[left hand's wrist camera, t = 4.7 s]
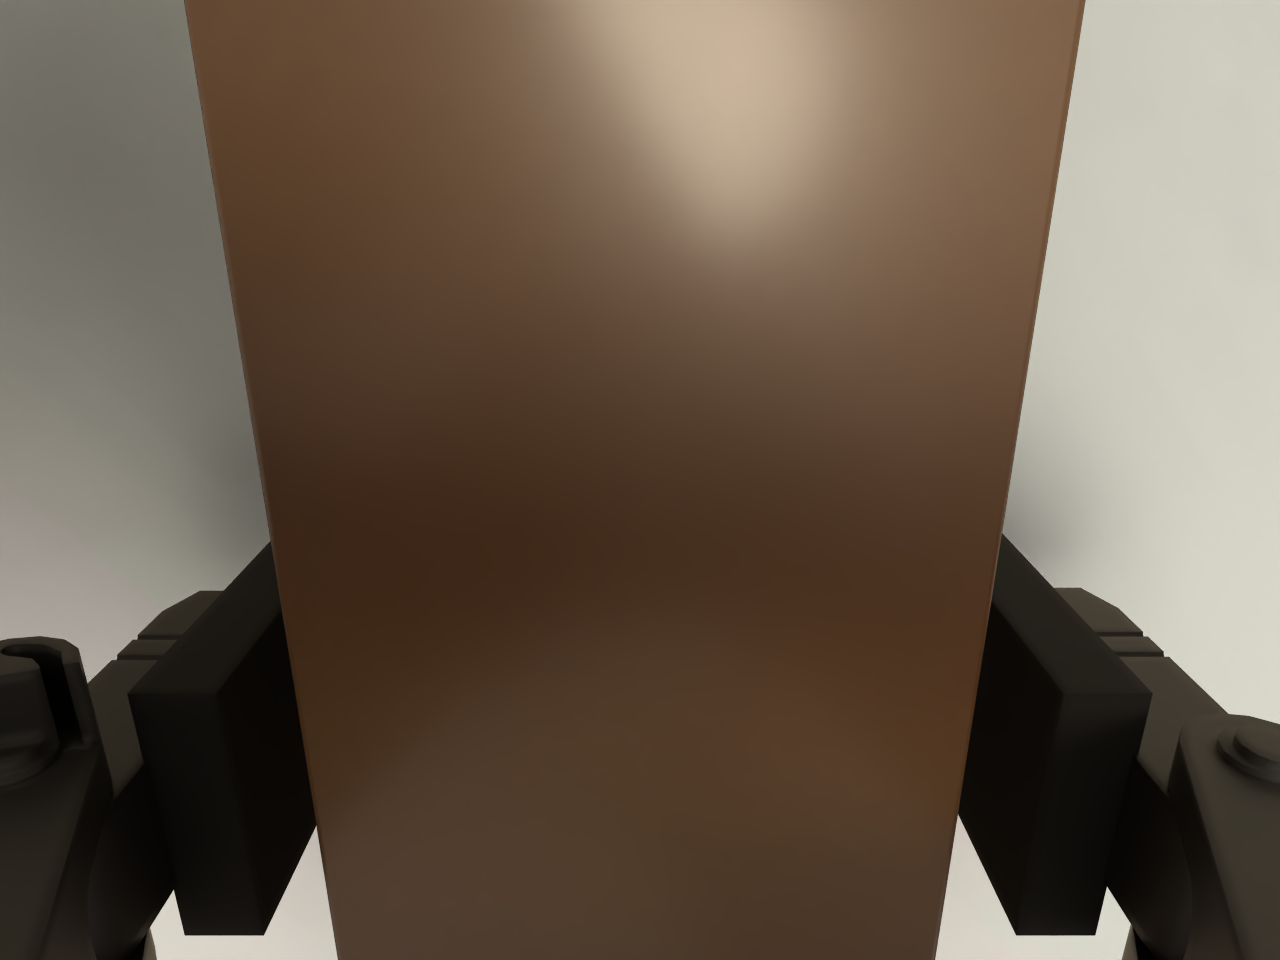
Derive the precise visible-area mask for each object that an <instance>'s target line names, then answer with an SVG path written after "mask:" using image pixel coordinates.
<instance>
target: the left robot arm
mask: <svg viewBox="0 0 1280 960" xmlns="http://www.w3.org/2000/svg"><path fill="white" fill-rule="evenodd" d="M1163 653H1164V652H1163V651H1162V650H1161V649H1160V648H1159V647H1158V646H1157V645H1156V644H1155V643H1154V642H1153V641H1152V640H1151V639H1150V638H1149V637H1143V631H1141V630H1140V629H1139V628H1138V627H1137V626H1136V625H1135V624H1134V623H1133V622H1132V621H1131V620H1130V619H1129V618H1128V617H1127V616H1126V615H1125V614H1124V613H1123V612H1122V611H1121V610H1120V609H1119V608H1117V607H1115V606H1113V605H1111V604H1110V603H1108V602H1106V601H1104V600H1102V599H1100V598H1098V597H1096V596H1095V595H1093V594H1091V593H1089V592H1087V591H1085V590H1083V589H1082V588H1053V587H1052V586H1051V585H1050V584H1049V583H1048V582H1047V580H1046V579H1045V578H1044V577H1043V576H1042V575H1041V574H1040V573H1039V572H1038V571H1037V570H1036V569H1035V568H1034V567H1033V566H1032V565H1031V563H1030V562H1029V561H1028V560H1027V559H1026V558H1025V557H1024V556H1023V555H1022V554H1021V553H1020V552H1019V551H1018V550H1017V549H1016V548H1015V547H1014V545H1013V544H1012V543H1011V542H1010V541H1009V540H1008V539H1007V538H1006V537H1005V536H1004V535H1003V534H1002V536H1001V542H1000V548H999V555H998V561H997V567H996V574H995V580H994V587H993V593H992V599H991V606H990V612H989V619H988V625H987V631H986V638H985V644H984V650H983V657H982V663H981V670H980V676H979V682H978V689H977V695H976V701H975V708H974V714H973V721H972V727H971V733H970V740H969V746H968V752H967V759H966V765H965V772H964V778H963V784H962V791H961V797H960V803H959V810H958V815H959V817H960V819H961V821H962V823H963V825H964V827H965V829H966V831H967V834H968V836H969V838H970V840H971V842H972V844H973V846H974V848H975V850H976V852H977V854H978V856H979V859H980V861H981V863H982V865H983V867H984V869H985V871H986V873H987V875H988V877H989V879H990V882H991V884H992V886H993V888H994V890H995V892H996V894H997V896H998V898H999V900H1000V902H1001V905H1002V907H1003V909H1004V911H1005V913H1006V915H1007V917H1008V919H1009V921H1010V923H1011V925H1012V928H1013V930H1014V932H1015V934H1016V935H1095V934H1096V930H1097V926H1098V921H1099V917H1100V913H1101V909H1102V905H1103V900H1104V896H1105V892H1106V888H1107V887H1108V888H1109V890H1110V891H1111V893H1112V895H1113V896H1114V898H1115V899H1116V901H1117V903H1118V904H1119V906H1120V907H1121V909H1122V910H1123V912H1124V914H1125V915H1126V917H1127V918H1128V920H1129V921H1130V923H1131V926H1130V930H1129V934H1128V938H1127V941H1126V945H1125V949H1124V953H1123V957H1122V960H1280V724H1277V723H1273V722H1269V721H1266V720H1262V719H1258V718H1255V717H1251V716H1243V715H1233V714H1228V713H1227V712H1226V711H1225V710H1224V709H1223V708H1222V707H1221V706H1220V705H1219V704H1218V703H1216V702H1215V701H1214V700H1213V699H1212V698H1211V697H1210V696H1209V695H1208V694H1207V693H1206V692H1205V691H1204V690H1203V689H1202V688H1201V687H1200V686H1199V685H1198V684H1197V683H1196V682H1195V681H1194V680H1193V679H1191V678H1190V677H1189V676H1188V675H1187V674H1186V673H1185V672H1184V671H1183V670H1182V669H1181V668H1180V667H1179V666H1178V665H1177V664H1176V663H1175V662H1174V661H1173V660H1172V659H1171V658H1170V657H1164V654H1163ZM315 827H316V819H315V813H314V807H313V801H312V794H311V788H310V782H309V776H308V769H307V763H306V757H305V751H304V744H303V738H302V732H301V726H300V720H299V713H298V707H297V701H296V695H295V688H294V682H293V676H292V670H291V663H290V657H289V651H288V645H287V639H286V632H285V626H284V620H283V614H282V607H281V601H280V595H279V589H278V582H277V576H276V570H275V564H274V558H273V551H272V545H271V541H270V542H269V543H268V544H267V545H266V546H265V548H264V549H263V550H262V551H261V552H260V553H259V554H258V555H257V556H256V557H255V558H254V559H253V560H252V561H251V562H250V563H249V565H248V566H247V567H246V568H245V569H244V570H243V571H242V572H241V573H240V574H239V575H238V576H237V577H236V578H235V579H234V580H233V582H232V583H231V584H230V585H229V586H228V587H227V588H226V589H225V590H224V591H199V592H197V593H195V594H193V595H192V596H190V597H188V598H186V599H184V600H182V601H180V602H179V603H177V604H175V605H173V606H171V607H169V608H168V609H166V610H164V611H162V612H161V613H160V614H159V615H158V616H157V617H156V618H155V619H154V620H153V621H152V622H151V623H150V624H149V625H148V626H147V627H146V628H145V629H144V630H143V631H142V632H140V633H139V634H138V639H137V640H132V641H131V642H130V643H129V644H128V645H127V646H126V647H125V648H124V649H123V650H122V651H121V652H120V653H119V654H118V655H117V660H112V661H111V662H109V663H108V664H107V665H106V666H105V667H104V668H103V669H102V670H101V671H100V672H99V673H98V674H97V675H96V676H95V677H94V678H93V679H92V680H91V681H90V682H89V683H88V684H87V680H86V676H85V672H84V668H83V664H82V660H81V657H80V653H79V649H78V648H77V647H75V646H74V645H72V644H71V643H69V642H68V641H66V640H64V639H57V638H49V637H42V636H38V637H25V638H13V639H6V640H1V641H0V960H157V958H156V951H155V945H154V941H153V938H152V934H151V930H150V926H151V925H152V923H153V922H154V920H155V918H156V917H157V915H158V914H159V912H160V910H161V909H162V907H163V906H164V904H165V903H166V901H167V899H168V898H169V896H170V895H171V893H172V891H173V890H174V892H175V896H176V900H177V905H178V909H179V913H180V917H181V921H182V926H183V930H184V934H185V935H264V934H265V932H266V930H267V927H268V925H269V923H270V921H271V919H272V917H273V915H274V913H275V911H276V909H277V907H278V905H279V902H280V900H281V898H282V896H283V894H284V892H285V890H286V888H287V886H288V884H289V882H290V879H291V877H292V875H293V873H294V871H295V869H296V867H297V865H298V863H299V861H300V859H301V856H302V854H303V852H304V850H305V848H306V846H307V844H308V842H309V840H310V838H311V836H312V833H313V831H314V829H315Z"/></svg>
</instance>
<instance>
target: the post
mask: <svg viewBox="0 0 1280 960" xmlns="http://www.w3.org/2000/svg"><path fill="white" fill-rule="evenodd" d="M184 3H185V9H186V16H187V22H188V28H189V34H190V40H191V47H192V53H193V59H194V65H195V72H196V78H197V84H198V90H199V97H200V103H201V109H202V115H203V121H204V128H205V134H206V140H207V146H208V153H209V159H210V165H211V171H212V178H213V184H214V190H215V196H216V202H217V209H218V215H219V221H220V227H221V234H222V240H223V246H224V252H225V259H226V265H227V271H228V277H229V283H230V290H231V296H232V302H233V308H234V315H235V321H236V327H237V333H238V339H239V346H240V352H241V358H242V364H243V371H244V377H245V383H246V389H247V396H248V402H249V408H250V414H251V420H252V427H253V433H254V439H255V445H256V452H257V458H258V464H259V470H260V477H261V483H262V489H263V495H264V501H265V508H266V514H267V520H268V526H269V533H270V539H271V545H272V551H273V558H274V564H275V570H276V576H277V582H278V589H279V595H280V601H281V607H282V614H283V620H284V626H285V632H286V639H287V645H288V651H289V657H290V663H291V670H292V676H293V682H294V688H295V695H296V701H297V707H298V713H299V720H300V726H301V732H302V738H303V744H304V751H305V757H306V763H307V769H308V776H309V782H310V788H311V794H312V801H313V807H314V813H315V819H316V825H317V832H318V838H319V844H320V850H321V857H322V863H323V869H324V875H325V881H326V888H327V894H328V900H329V906H330V913H331V919H332V925H333V931H334V938H335V944H336V950H337V956H338V960H935V956H936V950H937V944H938V937H939V931H940V925H941V918H942V912H943V905H944V899H945V893H946V886H947V880H948V874H949V867H950V861H951V854H952V848H953V842H954V835H955V829H956V823H957V816H958V810H959V803H960V797H961V791H962V784H963V778H964V772H965V765H966V759H967V752H968V746H969V740H970V733H971V727H972V721H973V714H974V708H975V701H976V695H977V689H978V682H979V676H980V670H981V663H982V657H983V650H984V644H985V638H986V631H987V625H988V619H989V612H990V606H991V599H992V593H993V587H994V580H995V574H996V567H997V561H998V555H999V548H1000V542H1001V536H1002V529H1003V523H1004V516H1005V510H1006V504H1007V497H1008V491H1009V485H1010V478H1011V472H1012V465H1013V459H1014V453H1015V446H1016V440H1017V434H1018V427H1019V421H1020V414H1021V408H1022V402H1023V395H1024V389H1025V383H1026V376H1027V370H1028V363H1029V357H1030V351H1031V344H1032V338H1033V332H1034V325H1035V319H1036V312H1037V306H1038V300H1039V293H1040V287H1041V281H1042V274H1043V268H1044V261H1045V255H1046V249H1047V242H1048V236H1049V230H1050V223H1051V217H1052V210H1053V204H1054V198H1055V191H1056V185H1057V179H1058V172H1059V166H1060V159H1061V153H1062V147H1063V140H1064V134H1065V127H1066V121H1067V115H1068V108H1069V102H1070V96H1071V89H1072V83H1073V76H1074V70H1075V64H1076V57H1077V51H1078V45H1079V38H1080V32H1081V25H1082V19H1083V13H1084V6H1085V0H184Z"/></svg>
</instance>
